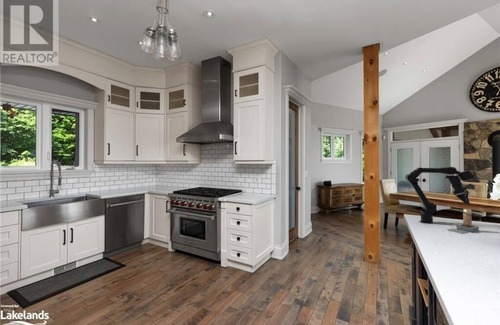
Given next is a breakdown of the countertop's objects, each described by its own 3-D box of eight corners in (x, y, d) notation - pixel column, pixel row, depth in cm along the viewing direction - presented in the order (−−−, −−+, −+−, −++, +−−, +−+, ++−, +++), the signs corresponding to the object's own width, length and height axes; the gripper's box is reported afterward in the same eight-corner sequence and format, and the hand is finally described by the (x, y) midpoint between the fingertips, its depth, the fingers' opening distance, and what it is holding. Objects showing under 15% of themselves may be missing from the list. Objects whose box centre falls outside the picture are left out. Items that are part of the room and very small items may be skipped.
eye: (456, 229, 153) (456, 224, 153) (463, 227, 155) (463, 223, 155) (471, 232, 145) (471, 228, 145) (478, 231, 148) (478, 226, 148)
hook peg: (461, 229, 151) (461, 209, 151) (465, 229, 153) (465, 208, 153) (469, 231, 148) (469, 210, 148) (473, 230, 149) (472, 209, 149)
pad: (447, 230, 151) (447, 229, 151) (453, 229, 153) (453, 228, 153) (461, 233, 143) (461, 233, 143) (468, 232, 146) (468, 231, 146)
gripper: (467, 177, 152) (481, 200, 146) (472, 180, 163) (484, 200, 157) (448, 183, 159) (459, 205, 153) (453, 185, 171) (464, 205, 165)
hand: (467, 204), depth 157 cm, fingers open, 9 cm apart
